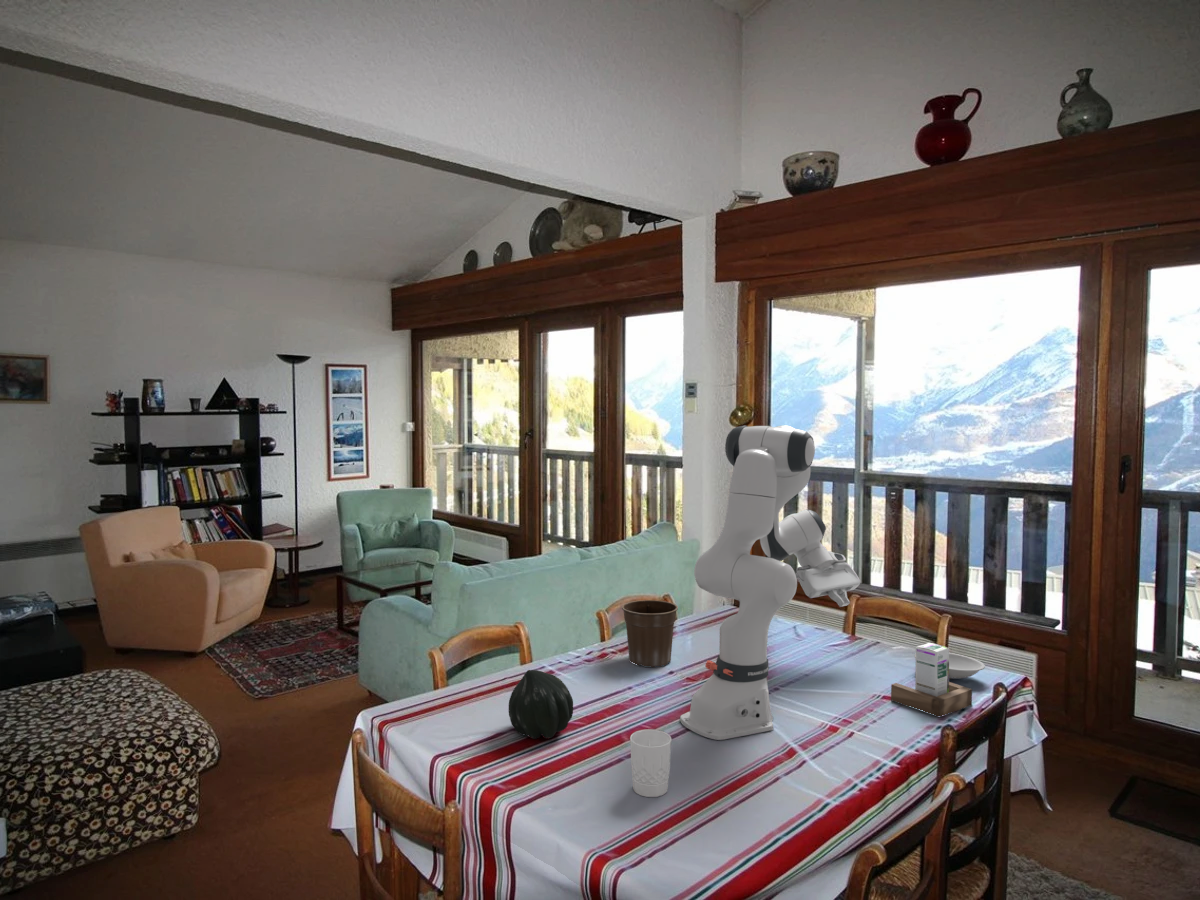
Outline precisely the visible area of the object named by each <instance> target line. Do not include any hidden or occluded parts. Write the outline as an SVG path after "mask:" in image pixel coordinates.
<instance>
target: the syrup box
mask: <svg viewBox="0 0 1200 900" xmlns="http://www.w3.org/2000/svg"><path fill="white" fill-rule="evenodd" d="M949 653H950V648H949V647H947V646H945V645H942V644H941V645H940V644H937V643H931V642H926V643H925V644H921V645H917V646H916V647H915V654H916V658H915V679H914V680H915V681H914V682H915V683H914V684H915V686H914V687H915V688H914V689H915V690H918V691H921V692H924V693H927V694H930V695H933V696H936V697H937V696H940V695H943V694H945V693H948V692H949V682H950V679H949Z"/></svg>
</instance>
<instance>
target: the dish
mask: <svg viewBox="0 0 1200 900" xmlns="http://www.w3.org/2000/svg"><path fill="white" fill-rule="evenodd" d="M914 658H915V659H916V653H914ZM985 668H986V665H985V663H983V662H982V661H980V660H978V659H975V658H973V657H970V656H966V655H962V654H958V653H953V652H949V680H952V679H967V678H970V677H972V676H974V675H976V674H977V673H979V672H980V671H983V670H984V669H985Z"/></svg>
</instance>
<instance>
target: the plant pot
mask: <svg viewBox="0 0 1200 900" xmlns="http://www.w3.org/2000/svg"><path fill="white" fill-rule="evenodd" d="M678 608H679V607H678V605H676V604H675V603H673V602H669V601H665V600H657V599H653V600H652V599H643V600H642V599H641V600H633V601H629V602H626V603H623V604H622V605H621V609H622V611H623V615H624V616H623V618H624V622H625V627H626V629H625V630H626V637H627V649H628V660H630V661H631V662H633V663H635V664H637V665H638V666H640V665H641V666H643V667H644V666H651V667H650V668H656V667H655V666H660V667H663V666H662V665H664V666H666V664H667V665H668V662H670V663H671V661H672V648H673V639H674V637H673V636H674V628H675V627H674V625H675V622H676V616H677V611H678V610H679V609H678ZM630 661H629V662H630ZM631 662H630V663H631ZM637 665H636V666H637Z"/></svg>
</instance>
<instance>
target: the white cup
mask: <svg viewBox="0 0 1200 900" xmlns="http://www.w3.org/2000/svg"><path fill="white" fill-rule="evenodd" d="M629 737H630V738H629V740H630V741H629V742H630V744H629V745H630V764H631V775H632V777H631V778H632V790H633V791H634V793H636V794H637V795H639V796H641V797H642V796H643V797H647V798H657V797H661V796H663V795H665V794H666V793H668V790H669V788H668V787H669V777H670V769H671V756H672V755H671V754H672V753H671V752H672V751H671V750H672V737H671V735H670V734H669V733H667V732H665V731H662V730H659V729H650V728H649V729H640V730H636V731H634V732H633V733H631V735H630V736H629Z"/></svg>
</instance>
